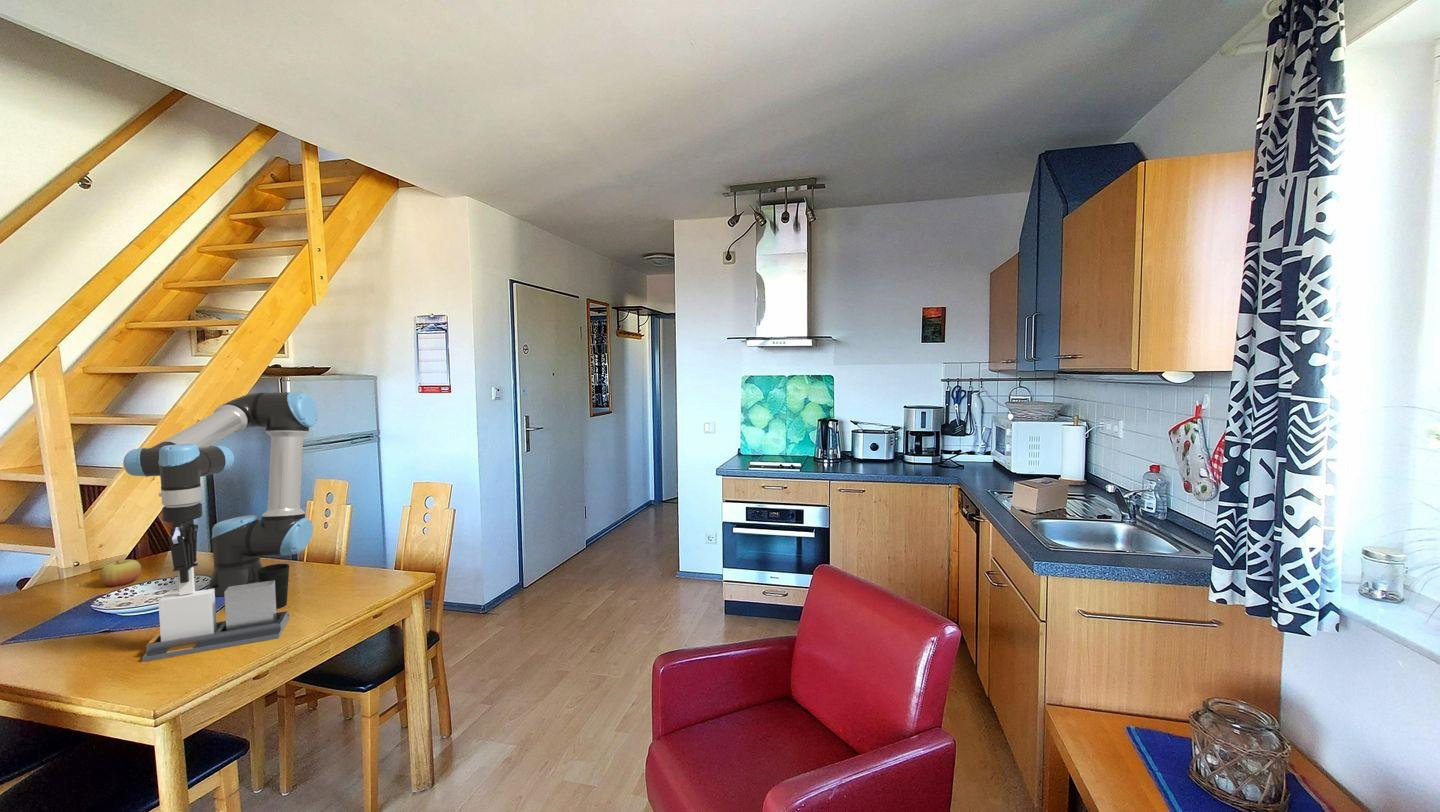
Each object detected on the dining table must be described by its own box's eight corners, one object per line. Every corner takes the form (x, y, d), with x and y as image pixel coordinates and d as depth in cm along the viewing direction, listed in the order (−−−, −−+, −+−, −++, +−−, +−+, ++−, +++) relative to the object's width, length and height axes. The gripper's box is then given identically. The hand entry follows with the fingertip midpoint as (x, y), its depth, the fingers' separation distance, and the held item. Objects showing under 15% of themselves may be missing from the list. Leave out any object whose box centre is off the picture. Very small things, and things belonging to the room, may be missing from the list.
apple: (97, 584, 190) (96, 561, 190) (138, 576, 198) (137, 553, 198) (103, 591, 185) (101, 567, 184) (145, 582, 193) (144, 559, 192)
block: (167, 639, 149) (164, 595, 148) (216, 631, 154) (214, 588, 153) (161, 646, 145) (158, 600, 145) (212, 638, 150) (209, 593, 149)
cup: (273, 612, 168) (271, 573, 168) (252, 610, 170) (250, 571, 169) (297, 602, 176) (295, 564, 175) (277, 600, 178) (275, 562, 177)
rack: (165, 638, 152) (162, 590, 152) (289, 617, 165) (287, 573, 164) (142, 661, 140) (139, 609, 139) (278, 638, 153) (276, 590, 152)
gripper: (172, 500, 151) (177, 587, 153) (151, 511, 140) (157, 605, 141) (209, 497, 155) (213, 582, 156) (192, 508, 143) (197, 599, 145)
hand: (187, 593), depth 149 cm, fingers closed
